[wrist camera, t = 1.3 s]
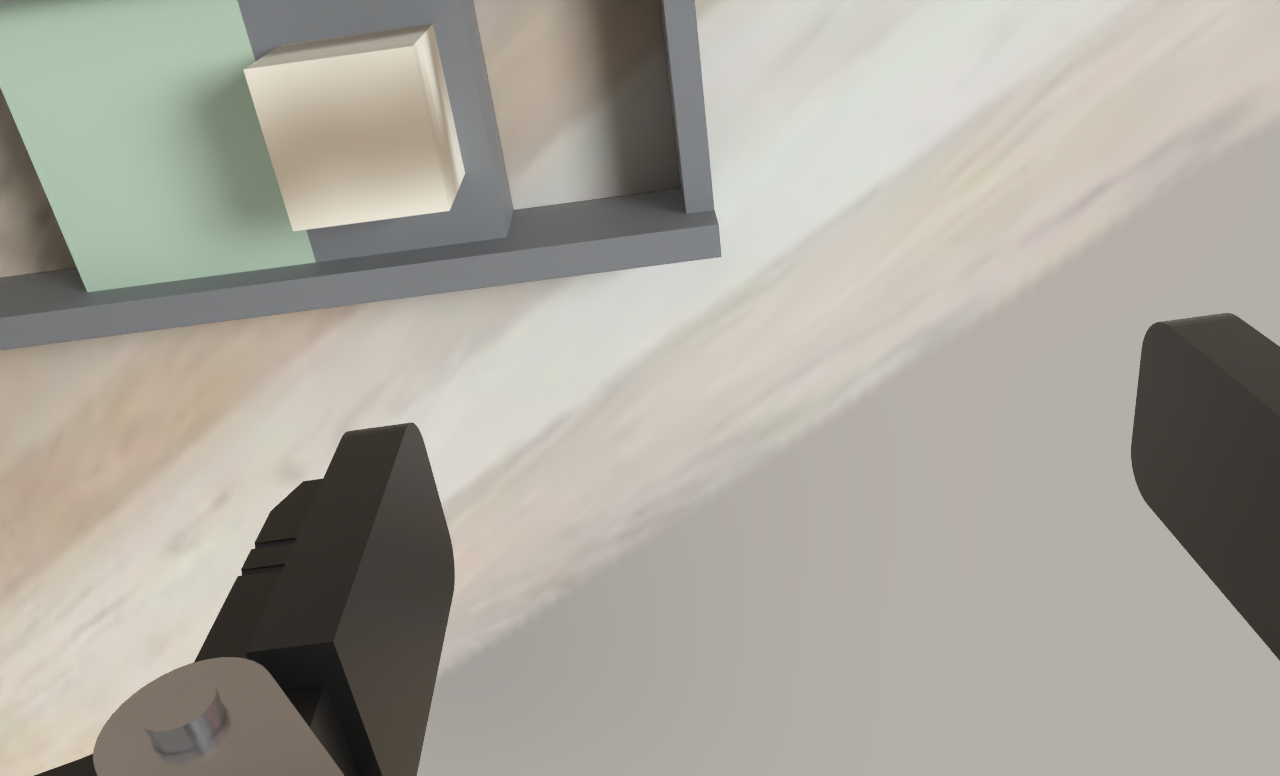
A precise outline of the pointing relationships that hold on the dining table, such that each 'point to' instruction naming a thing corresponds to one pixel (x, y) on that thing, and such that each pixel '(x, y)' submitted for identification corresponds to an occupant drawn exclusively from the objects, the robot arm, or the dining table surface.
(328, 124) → the block
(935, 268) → the dining table surface
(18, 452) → the dining table surface
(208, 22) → the trap lane
